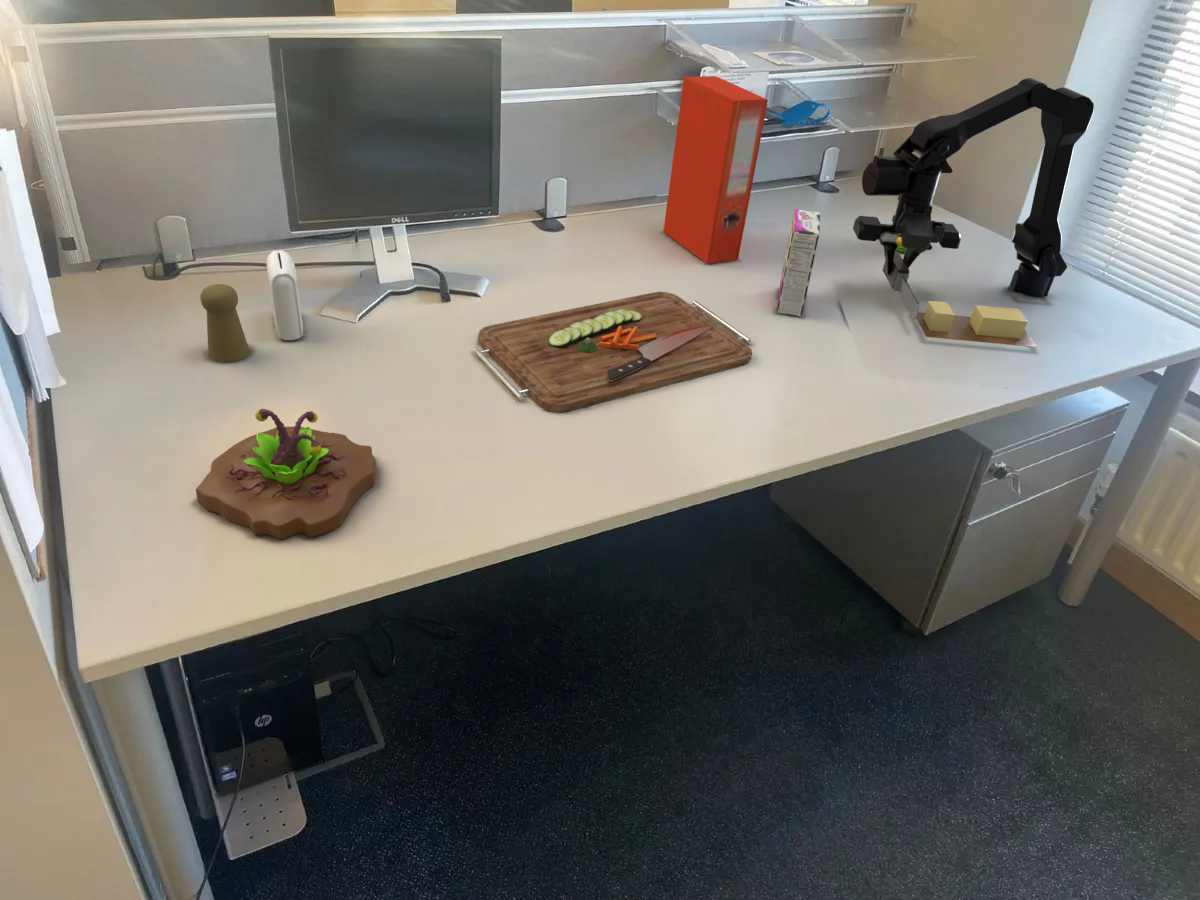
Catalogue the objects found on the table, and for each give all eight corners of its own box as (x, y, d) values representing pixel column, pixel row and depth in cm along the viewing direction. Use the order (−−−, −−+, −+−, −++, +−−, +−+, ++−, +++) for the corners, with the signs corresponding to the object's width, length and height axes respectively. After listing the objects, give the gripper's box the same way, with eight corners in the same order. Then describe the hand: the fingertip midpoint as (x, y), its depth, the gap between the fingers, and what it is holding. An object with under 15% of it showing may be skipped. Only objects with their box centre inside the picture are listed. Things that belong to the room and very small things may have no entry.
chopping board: (678, 293, 170) (680, 278, 168) (770, 358, 152) (773, 342, 150) (459, 338, 149) (458, 321, 148) (535, 419, 131) (536, 401, 129)
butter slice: (941, 320, 167) (947, 302, 165) (949, 332, 163) (955, 314, 161) (923, 318, 167) (928, 300, 165) (929, 330, 163) (935, 312, 161)
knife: (893, 271, 177) (898, 252, 175) (920, 319, 159) (926, 298, 157) (882, 270, 177) (887, 251, 175) (907, 318, 159) (913, 297, 157)
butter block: (1011, 326, 167) (1018, 308, 165) (1020, 339, 163) (1027, 321, 161) (968, 322, 167) (975, 304, 165) (976, 335, 163) (983, 317, 161)
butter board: (1017, 327, 170) (1019, 321, 169) (1035, 352, 161) (1037, 347, 161) (911, 317, 170) (913, 311, 169) (924, 342, 161) (926, 336, 161)
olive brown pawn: (257, 348, 142) (247, 284, 135) (233, 365, 137) (221, 300, 131) (225, 340, 143) (213, 276, 137) (199, 356, 138) (186, 291, 132)
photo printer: (273, 313, 151) (262, 244, 144) (299, 311, 153) (290, 242, 146) (277, 342, 144) (266, 271, 137) (305, 340, 145) (296, 268, 138)
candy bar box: (777, 289, 175) (794, 207, 166) (803, 293, 175) (821, 211, 165) (774, 314, 166) (792, 229, 157) (801, 318, 166) (821, 233, 156)
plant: (268, 427, 125) (257, 357, 118) (397, 460, 121) (392, 389, 114) (172, 513, 109) (152, 437, 102) (316, 553, 105) (306, 477, 98)
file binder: (694, 229, 198) (716, 75, 179) (739, 259, 186) (768, 98, 167) (663, 233, 194) (682, 77, 176) (706, 264, 182) (732, 100, 164)
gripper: (874, 206, 157) (853, 288, 166) (981, 215, 157) (954, 297, 166) (862, 184, 166) (843, 263, 175) (963, 194, 166) (938, 272, 175)
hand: (894, 274), depth 173 cm, fingers closed on knife, 2 cm apart
